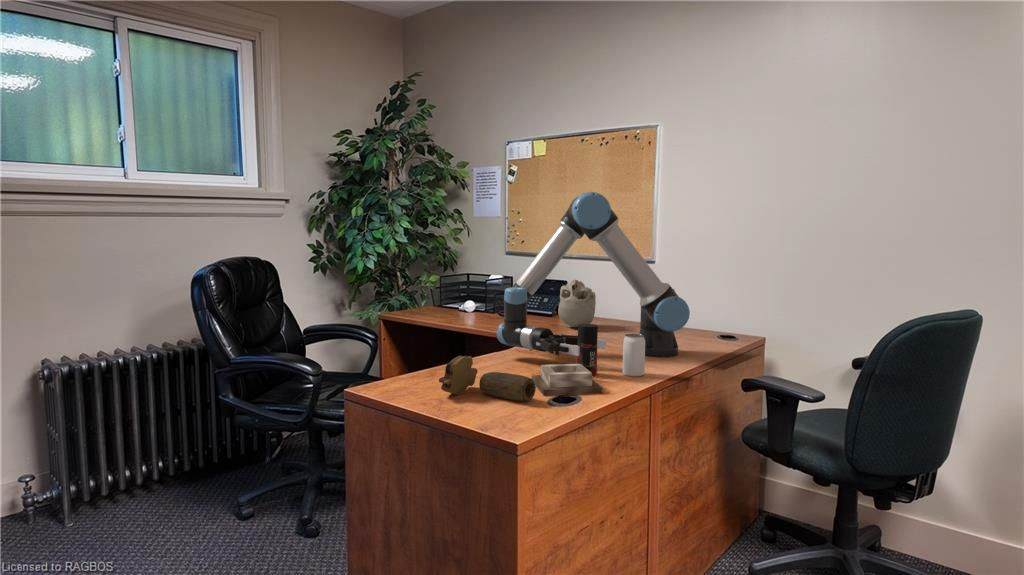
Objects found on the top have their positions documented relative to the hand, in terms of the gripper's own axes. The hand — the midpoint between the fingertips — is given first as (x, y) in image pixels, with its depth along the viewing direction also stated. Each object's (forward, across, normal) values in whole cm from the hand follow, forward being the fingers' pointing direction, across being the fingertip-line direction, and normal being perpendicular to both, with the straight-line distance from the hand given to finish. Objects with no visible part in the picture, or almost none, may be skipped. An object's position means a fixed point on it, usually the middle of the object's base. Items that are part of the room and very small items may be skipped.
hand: (592, 347), depth 181 cm
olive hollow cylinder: (-2, +35, -9) cm, 36 cm away
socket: (+2, +16, -8) cm, 18 cm away
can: (+8, -10, -9) cm, 15 cm away
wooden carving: (-15, +41, -9) cm, 44 cm away
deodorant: (-2, 0, -9) cm, 9 cm away
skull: (-55, -67, -9) cm, 87 cm away
